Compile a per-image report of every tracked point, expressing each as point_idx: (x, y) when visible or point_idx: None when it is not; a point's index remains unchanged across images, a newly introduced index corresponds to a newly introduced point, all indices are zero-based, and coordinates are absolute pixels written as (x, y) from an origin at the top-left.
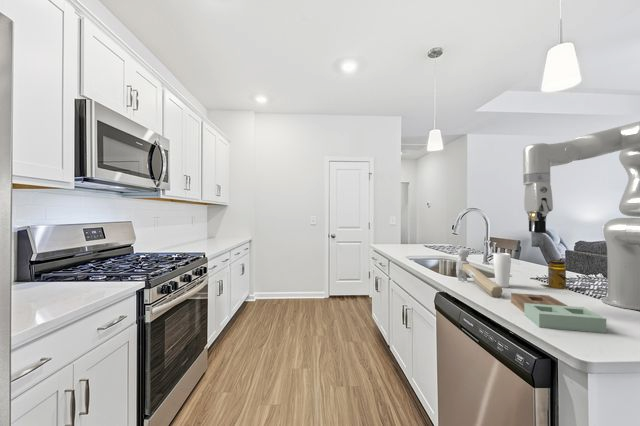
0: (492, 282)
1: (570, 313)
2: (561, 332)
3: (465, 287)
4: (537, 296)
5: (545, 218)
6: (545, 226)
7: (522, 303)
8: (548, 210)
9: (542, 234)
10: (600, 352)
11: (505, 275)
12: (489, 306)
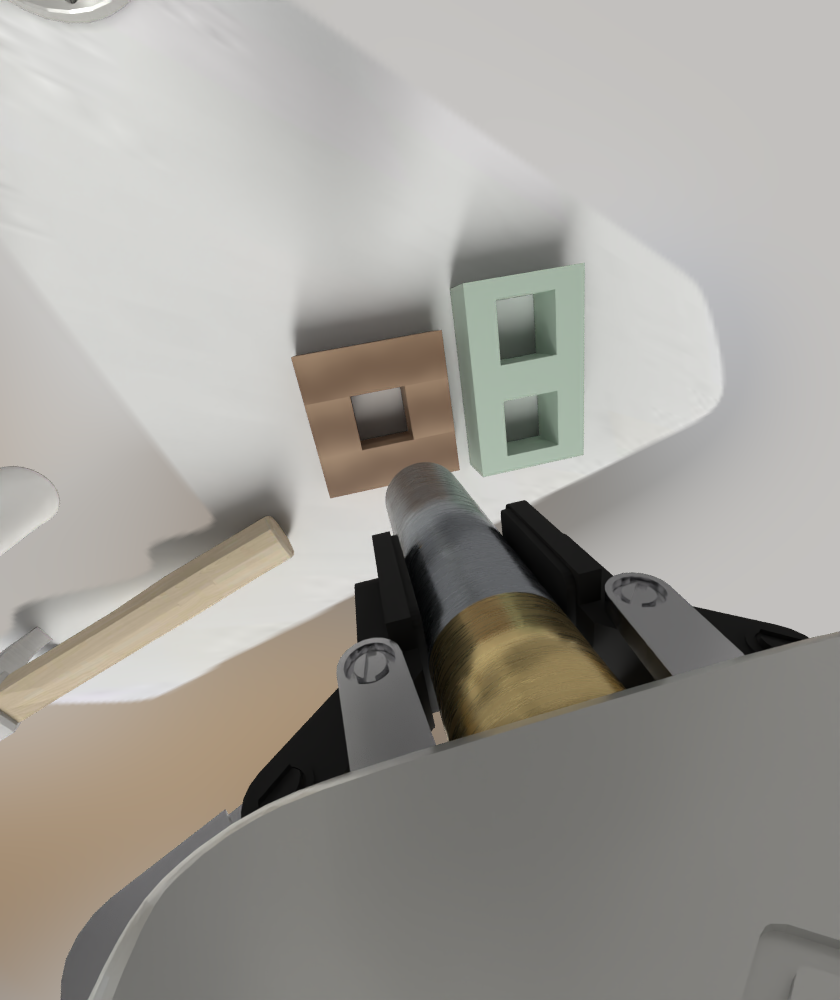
0: (235, 564)
1: (557, 362)
2: (585, 398)
3: None
4: (339, 409)
5: (674, 601)
6: (555, 530)
7: None
8: (774, 674)
9: (477, 509)
10: (686, 351)
11: (10, 508)
12: None
